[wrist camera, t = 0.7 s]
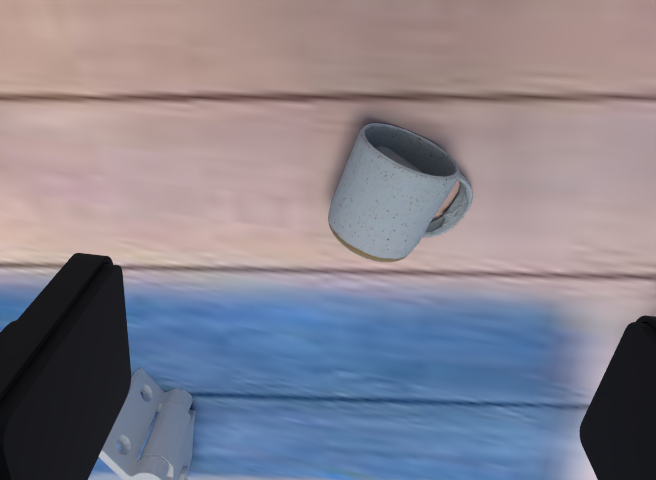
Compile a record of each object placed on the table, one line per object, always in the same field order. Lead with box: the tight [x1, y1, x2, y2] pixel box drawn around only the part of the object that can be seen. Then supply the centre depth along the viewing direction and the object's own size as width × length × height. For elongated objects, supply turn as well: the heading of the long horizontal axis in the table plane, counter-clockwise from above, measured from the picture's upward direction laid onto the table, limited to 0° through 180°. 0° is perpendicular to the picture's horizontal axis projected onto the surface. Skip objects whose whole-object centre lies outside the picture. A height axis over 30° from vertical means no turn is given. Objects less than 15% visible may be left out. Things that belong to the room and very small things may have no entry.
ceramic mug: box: [328, 123, 473, 262], centre depth 40 cm, size 11×8×8 cm
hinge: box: [99, 368, 195, 480], centre depth 54 cm, size 14×5×10 cm, turn 3°
